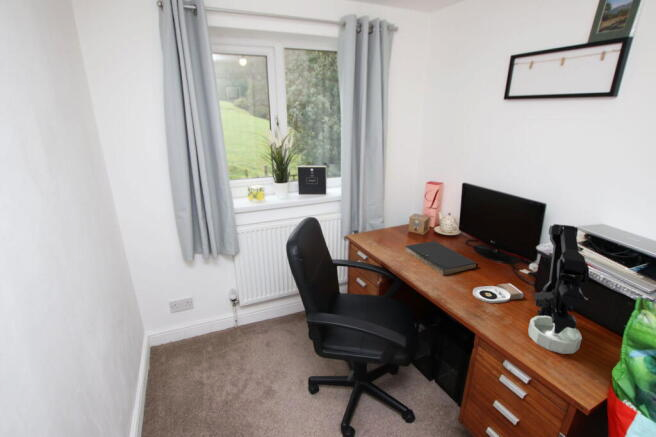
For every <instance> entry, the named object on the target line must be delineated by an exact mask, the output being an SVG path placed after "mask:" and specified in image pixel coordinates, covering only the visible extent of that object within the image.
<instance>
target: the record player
mask: <svg viewBox="0 0 656 437" xmlns="http://www.w3.org/2000/svg"><path fill="white" fill-rule="evenodd" d="M472 295H473V296H474V298H476V299H477V300H480V301H482V302H485V303H489V304H495V303H497V304H498V303H505V302H506V303H507V302H509V301H511V300H512V301H513V300H520V299H523V297H524V293H523V292H522V291H521V290H520V289H518V288H517V287H516V286H514V285H513V284H511V283H501V284H497V285H496V286H494V285H486V286H485V285H484V286H477V287H474V288H473V290H472Z"/></svg>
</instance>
